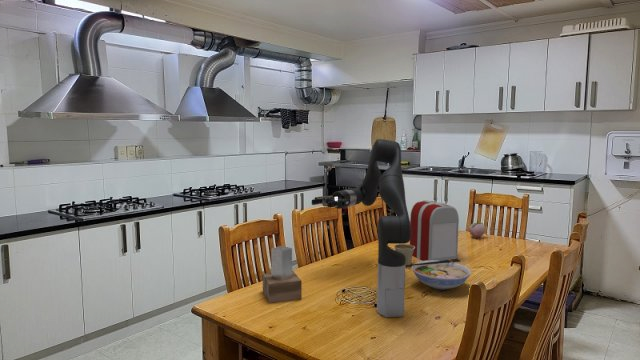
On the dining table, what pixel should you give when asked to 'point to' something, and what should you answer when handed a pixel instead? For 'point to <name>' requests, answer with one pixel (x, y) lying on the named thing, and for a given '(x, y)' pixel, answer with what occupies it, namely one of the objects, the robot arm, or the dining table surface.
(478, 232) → the decorative fruit
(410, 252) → the flower pot
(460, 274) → the ramen bowl
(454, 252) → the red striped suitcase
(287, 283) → the walnut box
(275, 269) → the steel tea tin
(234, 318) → the dining table surface
